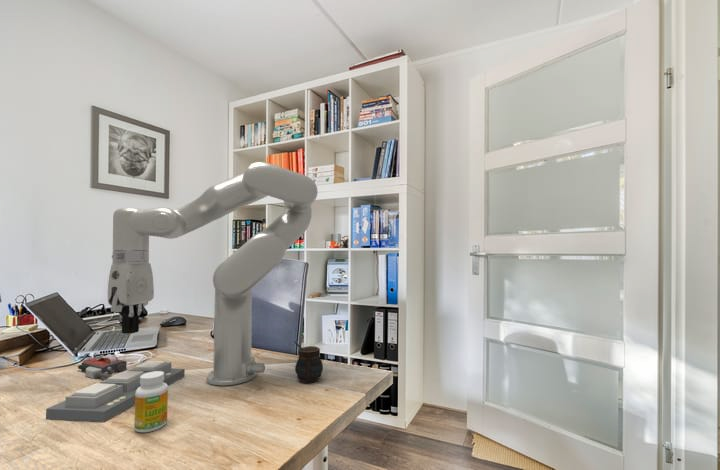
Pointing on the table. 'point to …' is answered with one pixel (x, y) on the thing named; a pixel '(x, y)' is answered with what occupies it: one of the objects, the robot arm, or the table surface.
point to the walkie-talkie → (102, 366)
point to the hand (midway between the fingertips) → (130, 332)
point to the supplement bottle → (151, 402)
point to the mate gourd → (309, 364)
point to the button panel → (107, 399)
